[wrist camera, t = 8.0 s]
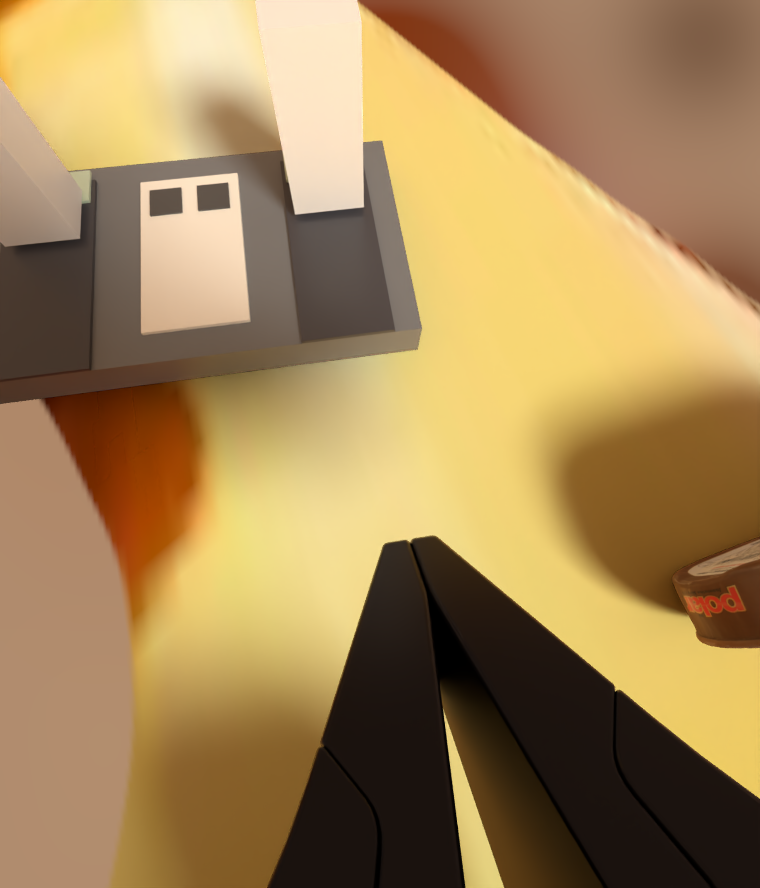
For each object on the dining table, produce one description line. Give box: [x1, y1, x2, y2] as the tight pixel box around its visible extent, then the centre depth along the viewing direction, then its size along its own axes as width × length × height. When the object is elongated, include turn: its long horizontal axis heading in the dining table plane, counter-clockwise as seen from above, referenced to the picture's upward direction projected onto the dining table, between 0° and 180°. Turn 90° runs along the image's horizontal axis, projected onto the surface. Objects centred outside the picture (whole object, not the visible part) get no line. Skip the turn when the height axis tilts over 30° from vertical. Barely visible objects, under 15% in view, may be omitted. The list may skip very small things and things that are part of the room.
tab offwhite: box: [255, 0, 364, 215], centre depth 20 cm, size 3×4×8 cm
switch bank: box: [0, 141, 422, 404], centre depth 24 cm, size 12×21×2 cm, turn 99°
